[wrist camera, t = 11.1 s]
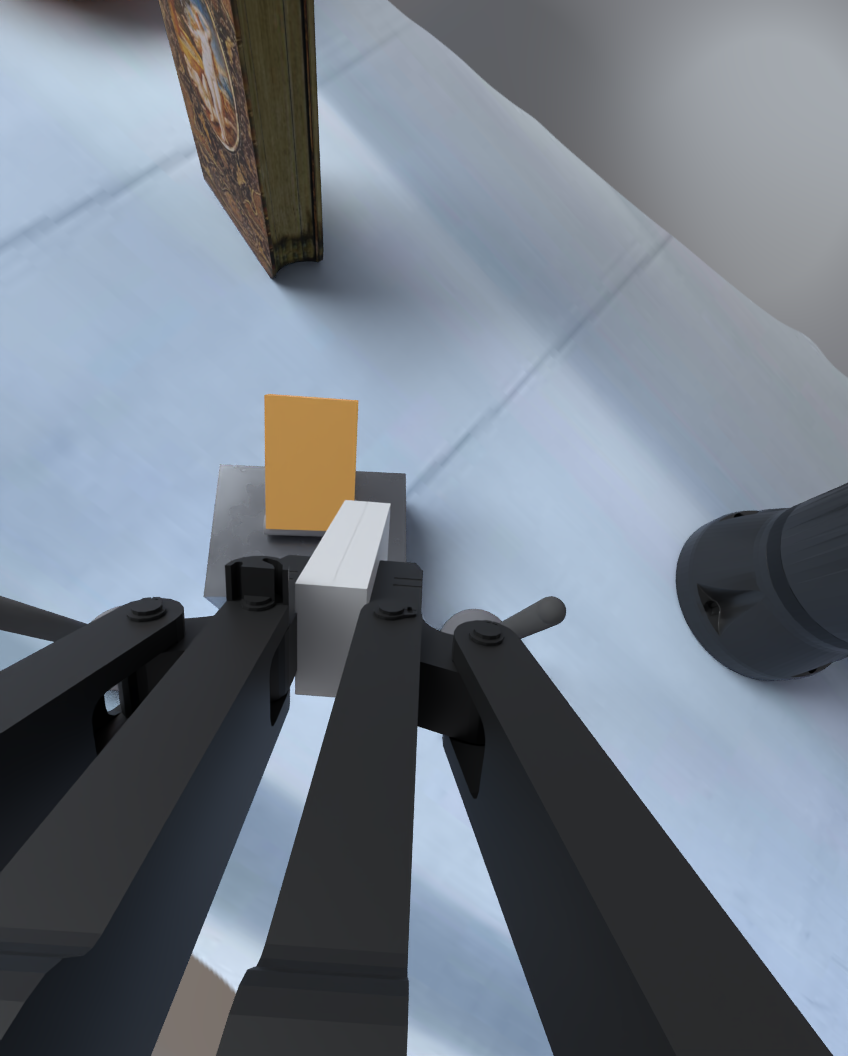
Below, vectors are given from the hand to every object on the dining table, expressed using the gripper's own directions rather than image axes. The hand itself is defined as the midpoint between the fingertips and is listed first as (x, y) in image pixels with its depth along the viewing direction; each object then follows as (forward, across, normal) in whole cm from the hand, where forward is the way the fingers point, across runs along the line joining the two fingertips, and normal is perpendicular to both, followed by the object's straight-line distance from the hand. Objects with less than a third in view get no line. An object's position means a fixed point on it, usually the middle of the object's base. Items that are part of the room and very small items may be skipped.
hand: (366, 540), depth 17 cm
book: (+44, +17, -18) cm, 51 cm away
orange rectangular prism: (+19, +6, +6) cm, 21 cm away
